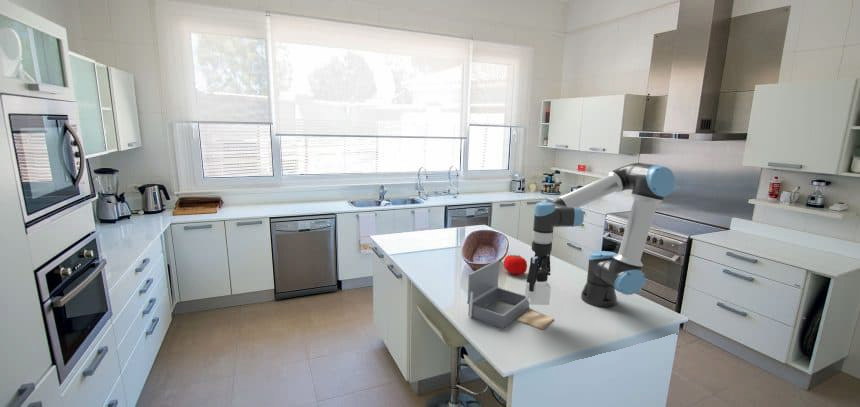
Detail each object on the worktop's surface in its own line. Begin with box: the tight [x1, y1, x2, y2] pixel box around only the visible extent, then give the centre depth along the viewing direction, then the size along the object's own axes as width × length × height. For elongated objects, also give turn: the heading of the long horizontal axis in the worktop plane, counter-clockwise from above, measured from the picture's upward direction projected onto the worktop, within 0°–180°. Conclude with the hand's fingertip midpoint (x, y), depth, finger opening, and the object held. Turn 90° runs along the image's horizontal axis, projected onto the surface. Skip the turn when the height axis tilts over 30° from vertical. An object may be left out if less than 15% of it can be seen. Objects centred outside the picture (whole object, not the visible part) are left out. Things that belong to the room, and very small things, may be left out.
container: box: [524, 268, 552, 306], centre depth 157 cm, size 8×8×13 cm
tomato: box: [503, 254, 528, 276], centre depth 211 cm, size 11×13×10 cm
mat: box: [517, 309, 555, 330], centre depth 160 cm, size 11×11×1 cm
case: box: [466, 259, 530, 329], centre depth 165 cm, size 17×25×18 cm
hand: (537, 294), depth 158 cm, fingers closed on container, 10 cm apart
